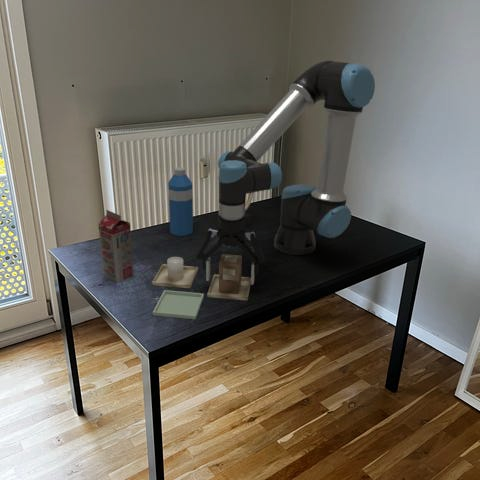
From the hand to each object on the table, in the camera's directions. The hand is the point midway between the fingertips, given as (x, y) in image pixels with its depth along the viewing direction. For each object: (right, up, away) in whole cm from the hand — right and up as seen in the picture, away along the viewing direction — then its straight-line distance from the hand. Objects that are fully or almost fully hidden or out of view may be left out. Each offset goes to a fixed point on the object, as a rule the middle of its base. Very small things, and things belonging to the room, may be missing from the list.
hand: (230, 280), depth 145 cm
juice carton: (-36, 0, +7) cm, 36 cm away
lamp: (+1, +19, +50) cm, 53 cm away
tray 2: (-15, -7, -8) cm, 18 cm away
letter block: (0, -3, +1) cm, 3 cm away
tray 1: (-17, 0, +7) cm, 19 cm away
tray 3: (0, -3, +1) cm, 3 cm away
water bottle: (-20, +16, +41) cm, 48 cm away
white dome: (-17, +1, +7) cm, 19 cm away
